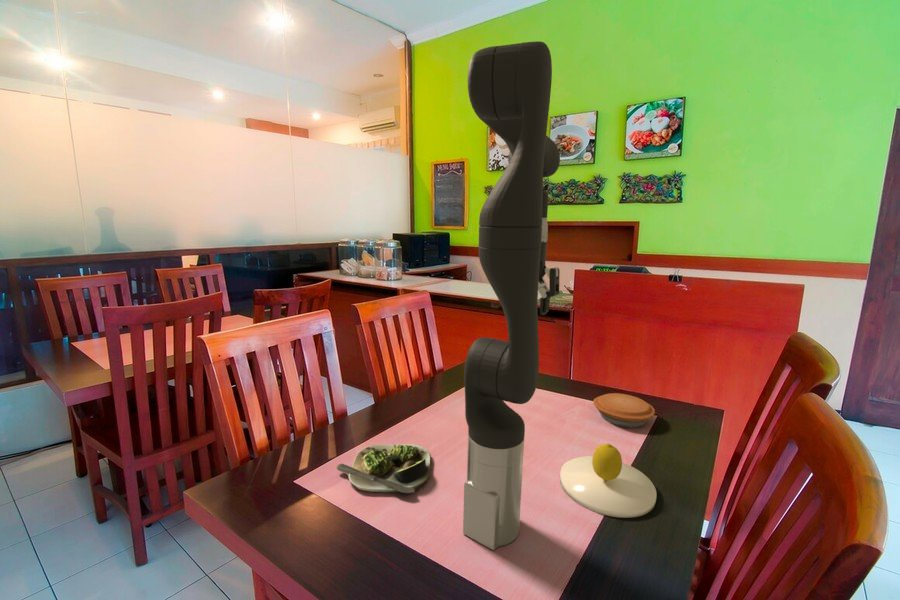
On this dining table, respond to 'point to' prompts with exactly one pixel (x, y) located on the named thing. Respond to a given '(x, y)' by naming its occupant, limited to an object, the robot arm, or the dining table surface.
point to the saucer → (608, 489)
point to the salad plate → (389, 468)
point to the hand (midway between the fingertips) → (525, 311)
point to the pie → (624, 409)
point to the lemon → (607, 462)
